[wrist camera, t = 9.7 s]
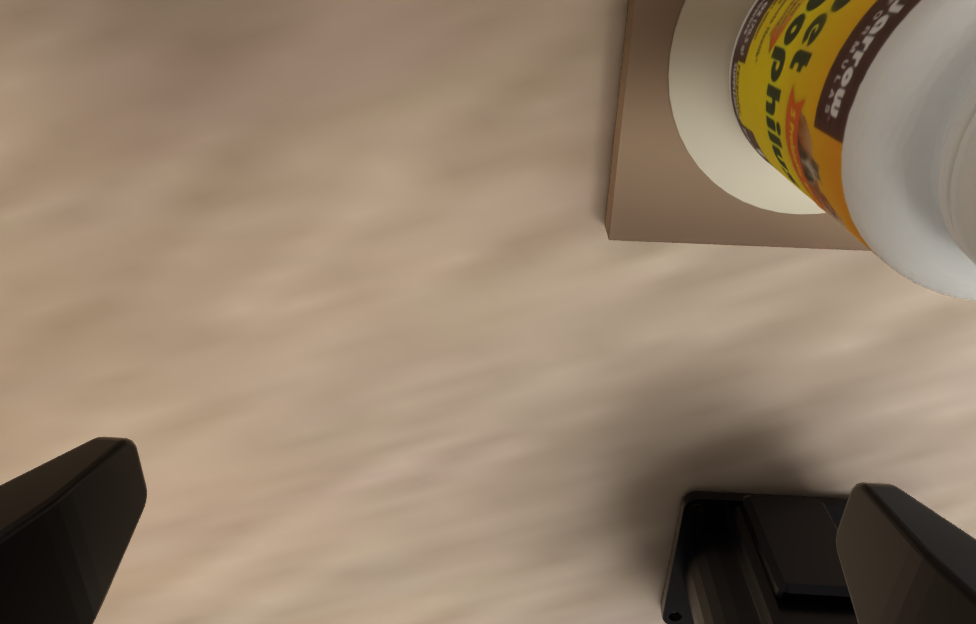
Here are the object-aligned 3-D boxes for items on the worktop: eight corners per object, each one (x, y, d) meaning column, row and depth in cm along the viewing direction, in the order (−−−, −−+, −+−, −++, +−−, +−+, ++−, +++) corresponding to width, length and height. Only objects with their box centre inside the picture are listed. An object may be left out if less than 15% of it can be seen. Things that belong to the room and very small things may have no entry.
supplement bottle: (739, -67, 16) (1027, -104, 7) (988, -67, 16) (1630, -107, 7) (705, 172, 18) (882, 378, 9) (920, 174, 18) (1315, 387, 9)
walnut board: (947, 239, 20) (973, 256, 19) (604, 225, 21) (609, 241, 20) (1090, -174, 16) (1134, -185, 15) (647, -182, 16) (656, -193, 15)
